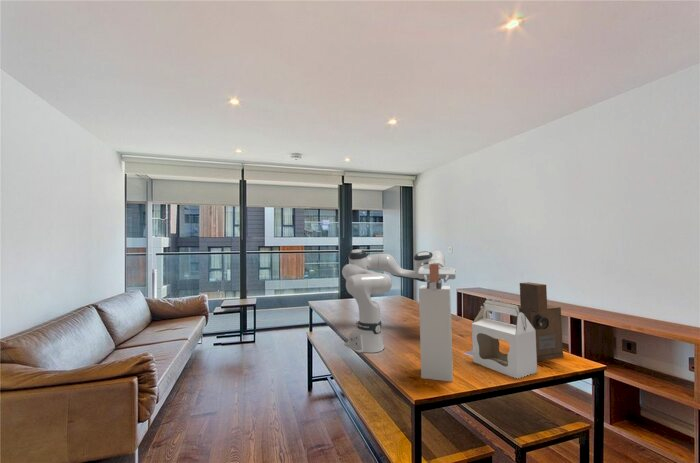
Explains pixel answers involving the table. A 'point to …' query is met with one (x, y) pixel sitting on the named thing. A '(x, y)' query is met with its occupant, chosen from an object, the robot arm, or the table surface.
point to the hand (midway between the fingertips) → (436, 281)
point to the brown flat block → (434, 276)
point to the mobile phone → (469, 353)
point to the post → (435, 333)
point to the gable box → (518, 336)
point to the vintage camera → (542, 320)
